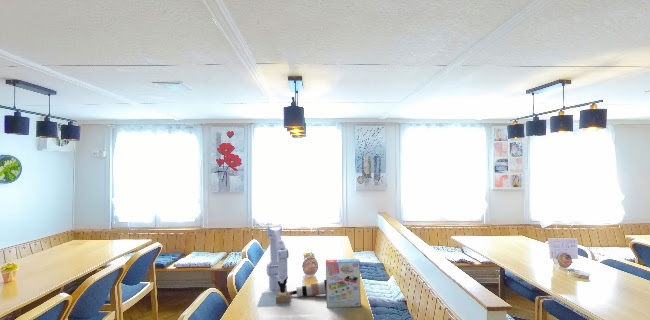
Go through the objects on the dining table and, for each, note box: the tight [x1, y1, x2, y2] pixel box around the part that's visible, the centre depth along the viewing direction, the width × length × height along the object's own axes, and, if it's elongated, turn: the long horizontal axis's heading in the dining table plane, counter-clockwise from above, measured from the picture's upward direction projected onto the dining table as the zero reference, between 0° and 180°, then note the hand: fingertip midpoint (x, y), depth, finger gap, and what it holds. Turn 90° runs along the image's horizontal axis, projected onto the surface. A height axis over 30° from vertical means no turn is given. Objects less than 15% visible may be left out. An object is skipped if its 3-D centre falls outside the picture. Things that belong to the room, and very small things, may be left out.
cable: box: [289, 279, 327, 298], centre depth 212 cm, size 10×34×10 cm, turn 95°
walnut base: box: [276, 291, 290, 304], centre depth 204 cm, size 8×8×4 cm
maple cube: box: [278, 285, 288, 296], centre depth 205 cm, size 4×4×4 cm
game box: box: [325, 258, 362, 309], centre depth 198 cm, size 21×6×27 cm, turn 92°
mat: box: [256, 291, 293, 308], centre depth 207 cm, size 22×20×1 cm
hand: (283, 290), depth 205 cm, fingers open, 5 cm apart
